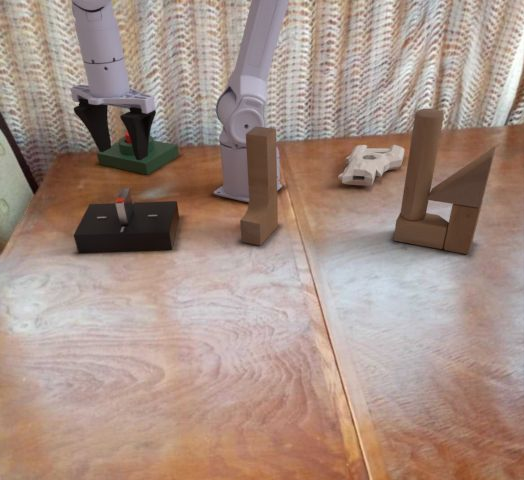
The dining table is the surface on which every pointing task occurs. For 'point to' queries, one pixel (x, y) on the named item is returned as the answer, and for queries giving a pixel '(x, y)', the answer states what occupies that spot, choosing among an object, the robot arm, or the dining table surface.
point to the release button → (127, 138)
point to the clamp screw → (124, 206)
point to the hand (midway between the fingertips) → (123, 153)
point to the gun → (370, 164)
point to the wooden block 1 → (261, 186)
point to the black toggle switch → (128, 228)
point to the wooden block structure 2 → (439, 192)
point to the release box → (126, 160)
